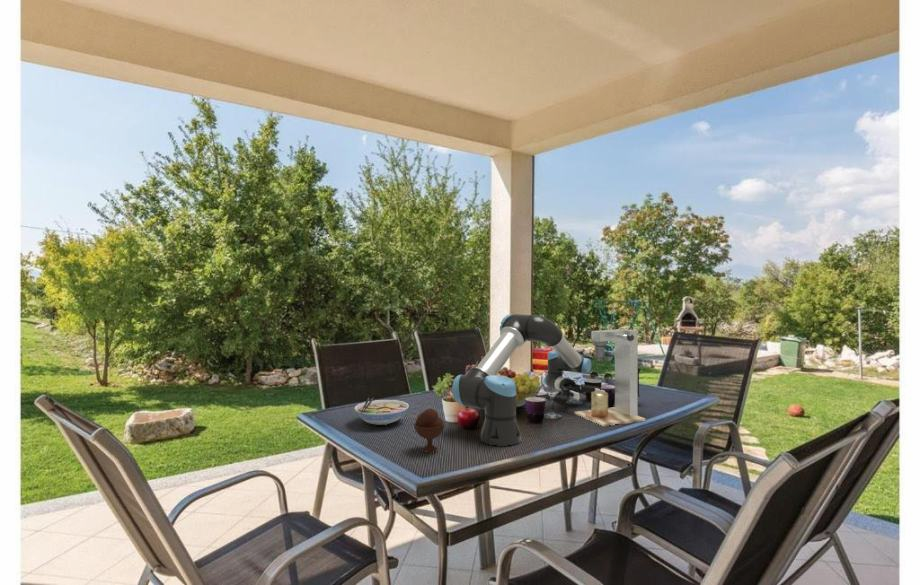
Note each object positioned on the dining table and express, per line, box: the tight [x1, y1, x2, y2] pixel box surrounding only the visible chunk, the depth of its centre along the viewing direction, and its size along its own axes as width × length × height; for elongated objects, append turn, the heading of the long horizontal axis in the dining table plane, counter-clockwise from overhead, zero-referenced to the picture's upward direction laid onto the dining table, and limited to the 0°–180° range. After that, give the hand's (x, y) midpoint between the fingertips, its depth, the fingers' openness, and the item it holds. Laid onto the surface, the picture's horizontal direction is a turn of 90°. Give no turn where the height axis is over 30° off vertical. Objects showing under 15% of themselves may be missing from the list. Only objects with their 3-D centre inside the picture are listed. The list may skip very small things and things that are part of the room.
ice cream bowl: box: [413, 408, 446, 452], centre depth 164 cm, size 11×11×15 cm
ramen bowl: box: [354, 396, 410, 426], centre depth 197 cm, size 25×23×8 cm
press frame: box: [590, 328, 639, 416], centre depth 201 cm, size 19×16×37 cm
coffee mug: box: [580, 378, 603, 403], centre depth 233 cm, size 12×9×10 cm
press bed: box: [574, 406, 647, 427], centre depth 204 cm, size 22×20×1 cm
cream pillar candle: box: [590, 391, 609, 418], centre depth 202 cm, size 7×7×10 cm
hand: (591, 395), depth 208 cm, fingers open, 13 cm apart
